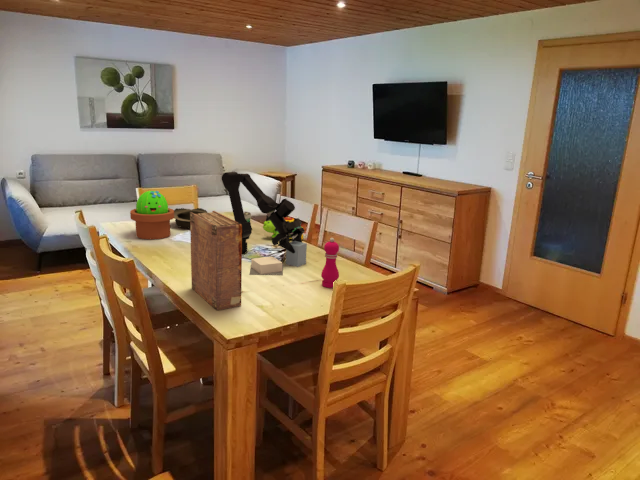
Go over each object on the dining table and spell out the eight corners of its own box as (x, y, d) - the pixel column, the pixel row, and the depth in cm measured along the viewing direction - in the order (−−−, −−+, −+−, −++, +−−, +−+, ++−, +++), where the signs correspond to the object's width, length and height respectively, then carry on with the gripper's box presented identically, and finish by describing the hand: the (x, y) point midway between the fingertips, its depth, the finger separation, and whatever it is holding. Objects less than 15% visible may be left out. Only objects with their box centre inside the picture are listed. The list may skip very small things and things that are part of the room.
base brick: (251, 267, 212) (251, 258, 211) (272, 264, 217) (272, 256, 216) (260, 274, 203) (260, 265, 202) (282, 271, 208) (282, 262, 207)
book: (191, 288, 187) (189, 212, 180) (214, 284, 192) (213, 210, 185) (217, 311, 167) (216, 226, 159) (241, 306, 172) (242, 224, 164)
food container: (247, 233, 274) (247, 216, 271) (236, 232, 275) (237, 215, 272) (254, 228, 286) (254, 212, 283) (244, 227, 287) (244, 211, 284)
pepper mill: (320, 282, 200) (322, 235, 195) (337, 282, 201) (340, 235, 196) (321, 288, 193) (323, 240, 188) (339, 288, 194) (342, 240, 189)
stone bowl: (179, 219, 299) (180, 205, 296) (218, 225, 296) (219, 211, 294) (161, 228, 275) (162, 212, 272) (203, 234, 272) (204, 218, 270)
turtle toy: (258, 236, 270) (258, 215, 267) (297, 233, 280) (297, 213, 277) (268, 243, 255) (268, 222, 252) (308, 241, 265) (309, 220, 262)
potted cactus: (131, 231, 265) (128, 186, 259) (172, 230, 274) (171, 186, 267) (132, 242, 246) (129, 193, 240) (176, 239, 254) (175, 192, 248)
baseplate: (249, 277, 202) (249, 274, 202) (251, 266, 217) (251, 263, 217) (282, 277, 204) (282, 275, 203) (282, 266, 218) (282, 264, 218)
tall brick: (285, 264, 219) (286, 243, 216) (294, 261, 224) (294, 240, 222) (297, 268, 215) (298, 246, 213) (305, 264, 221) (306, 243, 218)
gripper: (277, 216, 208) (297, 245, 205) (302, 210, 224) (321, 237, 221) (263, 230, 214) (282, 259, 211) (288, 224, 230) (306, 250, 227)
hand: (298, 251), depth 217 cm, fingers closed on tall brick, 7 cm apart
